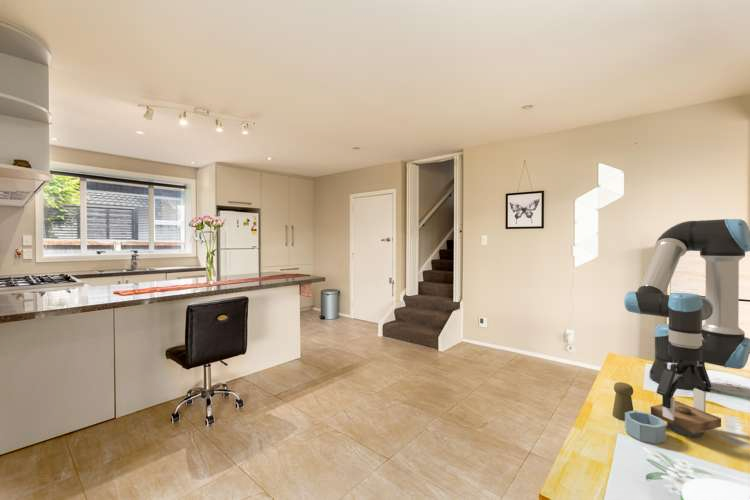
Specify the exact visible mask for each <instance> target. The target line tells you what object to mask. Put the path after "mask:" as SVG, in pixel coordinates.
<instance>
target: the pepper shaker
mask: <svg viewBox="0 0 750 500" xmlns="http://www.w3.org/2000/svg"><path fill="white" fill-rule="evenodd" d="M613 391H614V392H615V397H614V402H613V409H612V417H614V418H615V419H617V420H619V421H621V422H625V412H629V411H635V410H634V405H633V399H632V396H633V395H634V389H633V386H632V385H631V384H629V383H627V382H622V381H619V382H615V383H614V385H613Z"/></svg>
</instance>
